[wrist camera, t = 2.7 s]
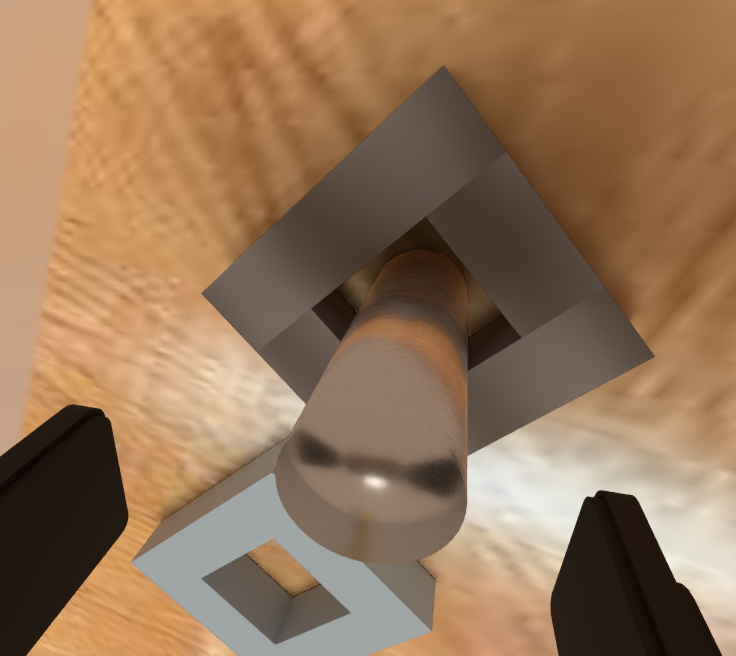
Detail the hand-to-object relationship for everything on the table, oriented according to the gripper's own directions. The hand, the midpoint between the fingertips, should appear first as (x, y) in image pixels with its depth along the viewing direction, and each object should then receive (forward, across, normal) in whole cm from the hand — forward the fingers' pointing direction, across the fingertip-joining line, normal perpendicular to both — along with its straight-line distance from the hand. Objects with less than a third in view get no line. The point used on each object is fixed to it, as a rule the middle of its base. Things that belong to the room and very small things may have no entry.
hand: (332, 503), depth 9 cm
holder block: (+13, +5, +17) cm, 22 cm away
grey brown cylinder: (+12, -1, 0) cm, 13 cm away
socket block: (+12, -1, 0) cm, 13 cm away
